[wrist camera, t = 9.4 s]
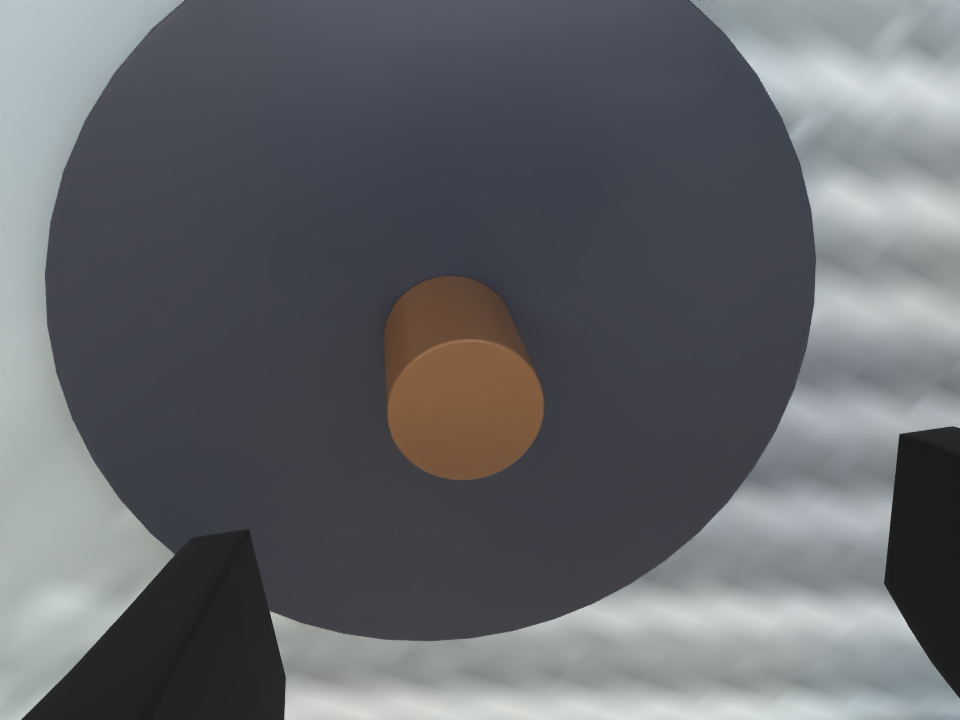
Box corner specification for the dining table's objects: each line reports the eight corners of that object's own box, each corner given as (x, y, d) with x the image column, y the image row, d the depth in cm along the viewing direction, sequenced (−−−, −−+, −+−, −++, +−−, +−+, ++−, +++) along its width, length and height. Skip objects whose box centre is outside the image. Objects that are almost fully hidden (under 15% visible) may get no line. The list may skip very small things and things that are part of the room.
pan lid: (934, 212, 19) (1092, 274, 15) (527, 696, 23) (562, 852, 19) (312, -292, 14) (289, -406, 10) (-64, 428, 18) (-191, 558, 14)
